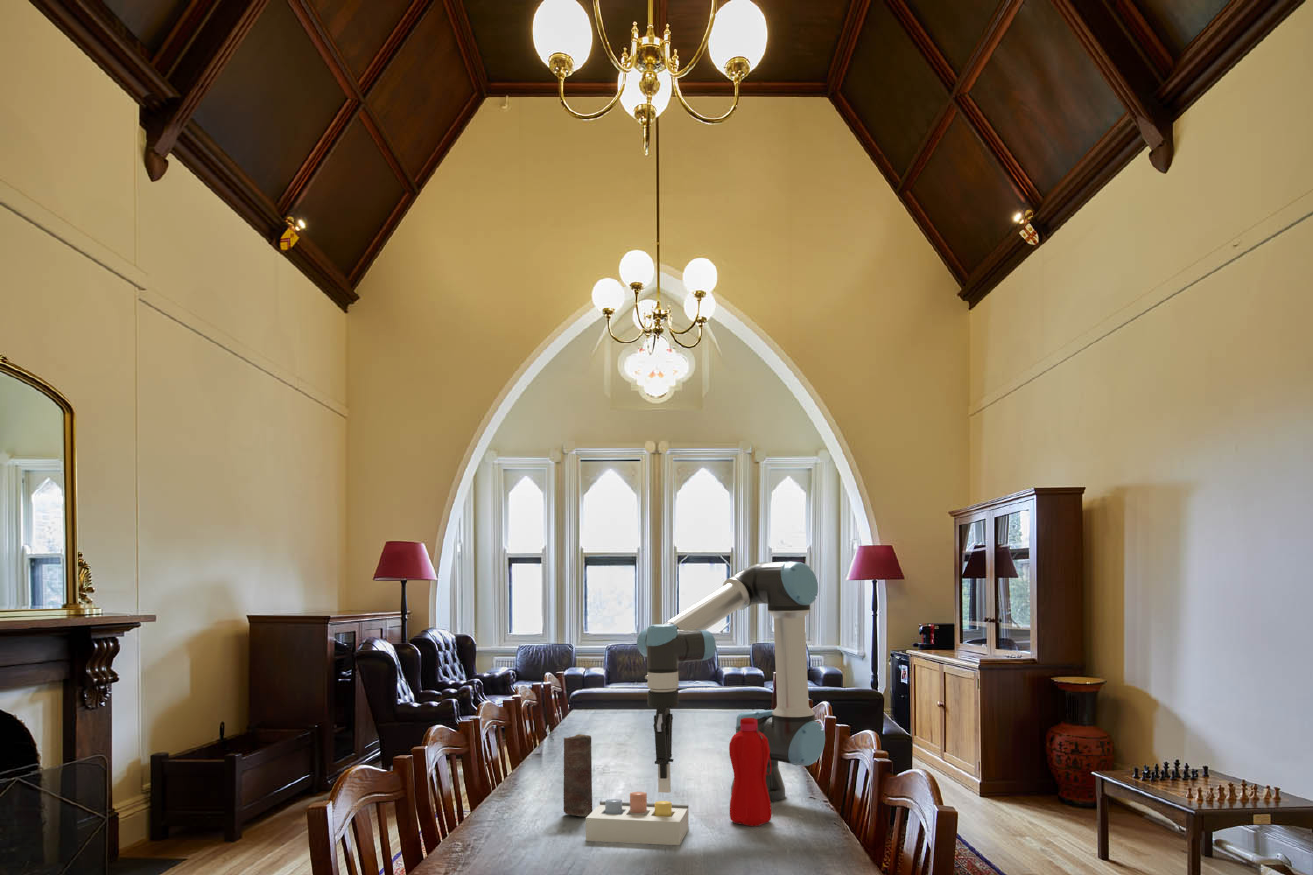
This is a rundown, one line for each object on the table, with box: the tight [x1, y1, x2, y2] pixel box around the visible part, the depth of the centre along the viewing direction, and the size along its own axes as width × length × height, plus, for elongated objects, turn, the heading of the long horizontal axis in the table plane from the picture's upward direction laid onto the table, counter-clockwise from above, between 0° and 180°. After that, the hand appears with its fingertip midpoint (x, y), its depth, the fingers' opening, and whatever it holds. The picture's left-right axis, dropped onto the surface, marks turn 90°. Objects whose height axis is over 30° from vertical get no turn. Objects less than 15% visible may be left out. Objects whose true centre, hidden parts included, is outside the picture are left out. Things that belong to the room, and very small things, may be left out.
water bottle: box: [728, 718, 773, 827], centre depth 230 cm, size 9×11×25 cm
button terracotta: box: [629, 791, 648, 813], centre depth 218 cm, size 4×4×4 cm
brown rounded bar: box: [563, 734, 593, 818], centre depth 236 cm, size 8×7×20 cm
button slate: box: [605, 798, 623, 815], centre depth 219 cm, size 4×4×4 cm
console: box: [585, 800, 690, 846], centre depth 217 cm, size 22×14×6 cm, turn 80°
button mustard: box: [654, 800, 672, 817], centre depth 217 cm, size 4×4×4 cm
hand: (664, 791), depth 218 cm, fingers closed
